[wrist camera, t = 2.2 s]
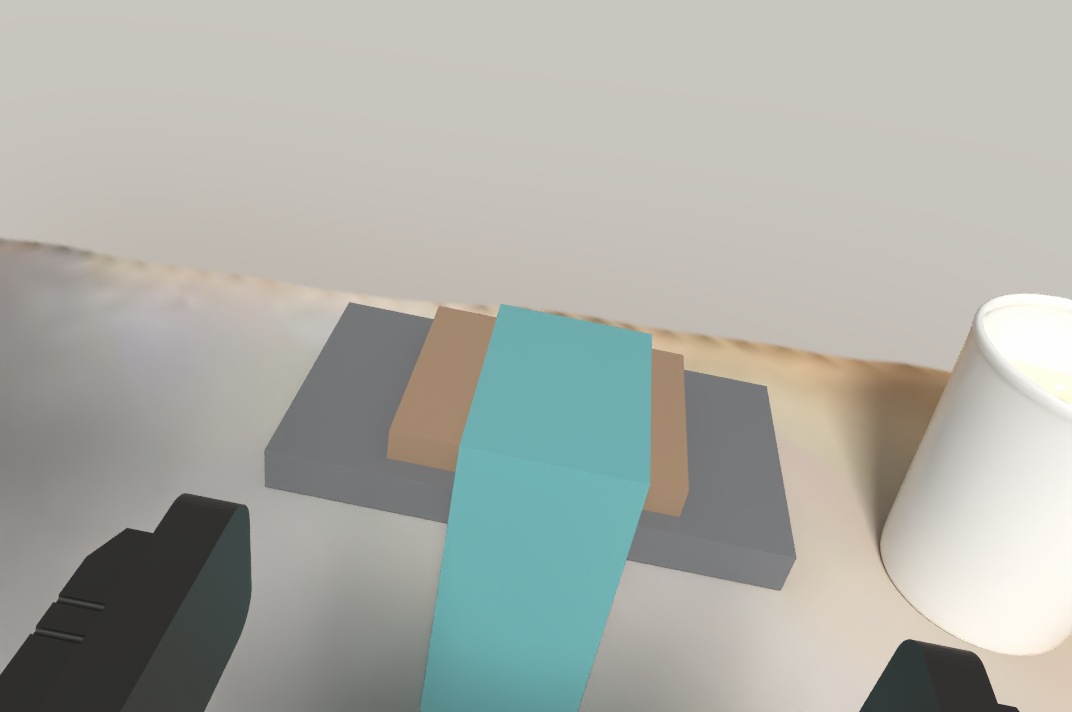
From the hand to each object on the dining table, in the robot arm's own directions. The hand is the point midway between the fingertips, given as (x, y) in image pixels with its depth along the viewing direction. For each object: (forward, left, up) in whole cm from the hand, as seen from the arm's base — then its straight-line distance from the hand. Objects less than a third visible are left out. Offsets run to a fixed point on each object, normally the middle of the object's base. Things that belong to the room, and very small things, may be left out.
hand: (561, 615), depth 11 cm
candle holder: (+20, +22, -19) cm, 35 cm away
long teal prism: (0, +11, -19) cm, 22 cm away
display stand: (0, +25, -19) cm, 31 cm away
